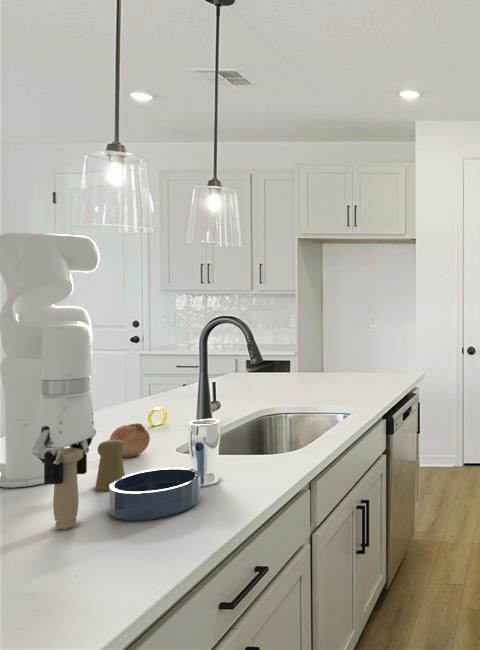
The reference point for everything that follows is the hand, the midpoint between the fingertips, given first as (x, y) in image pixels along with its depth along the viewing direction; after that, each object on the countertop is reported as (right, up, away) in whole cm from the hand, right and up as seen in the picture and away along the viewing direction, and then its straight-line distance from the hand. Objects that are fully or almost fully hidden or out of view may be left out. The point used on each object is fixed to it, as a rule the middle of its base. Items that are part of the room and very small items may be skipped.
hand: (66, 477), depth 111 cm
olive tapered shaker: (-8, -9, +23) cm, 26 cm away
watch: (-35, -7, +84) cm, 91 cm away
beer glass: (+12, -10, +27) cm, 32 cm away
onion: (-20, -8, +48) cm, 53 cm away
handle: (0, -10, 0) cm, 10 cm away
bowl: (+11, -10, +11) cm, 18 cm away
